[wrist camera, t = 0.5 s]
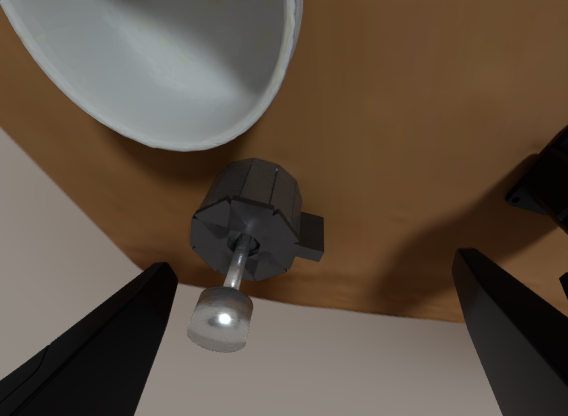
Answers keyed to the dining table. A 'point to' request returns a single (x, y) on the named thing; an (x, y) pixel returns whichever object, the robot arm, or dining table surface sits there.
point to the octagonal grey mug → (256, 220)
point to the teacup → (164, 62)
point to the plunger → (225, 305)
